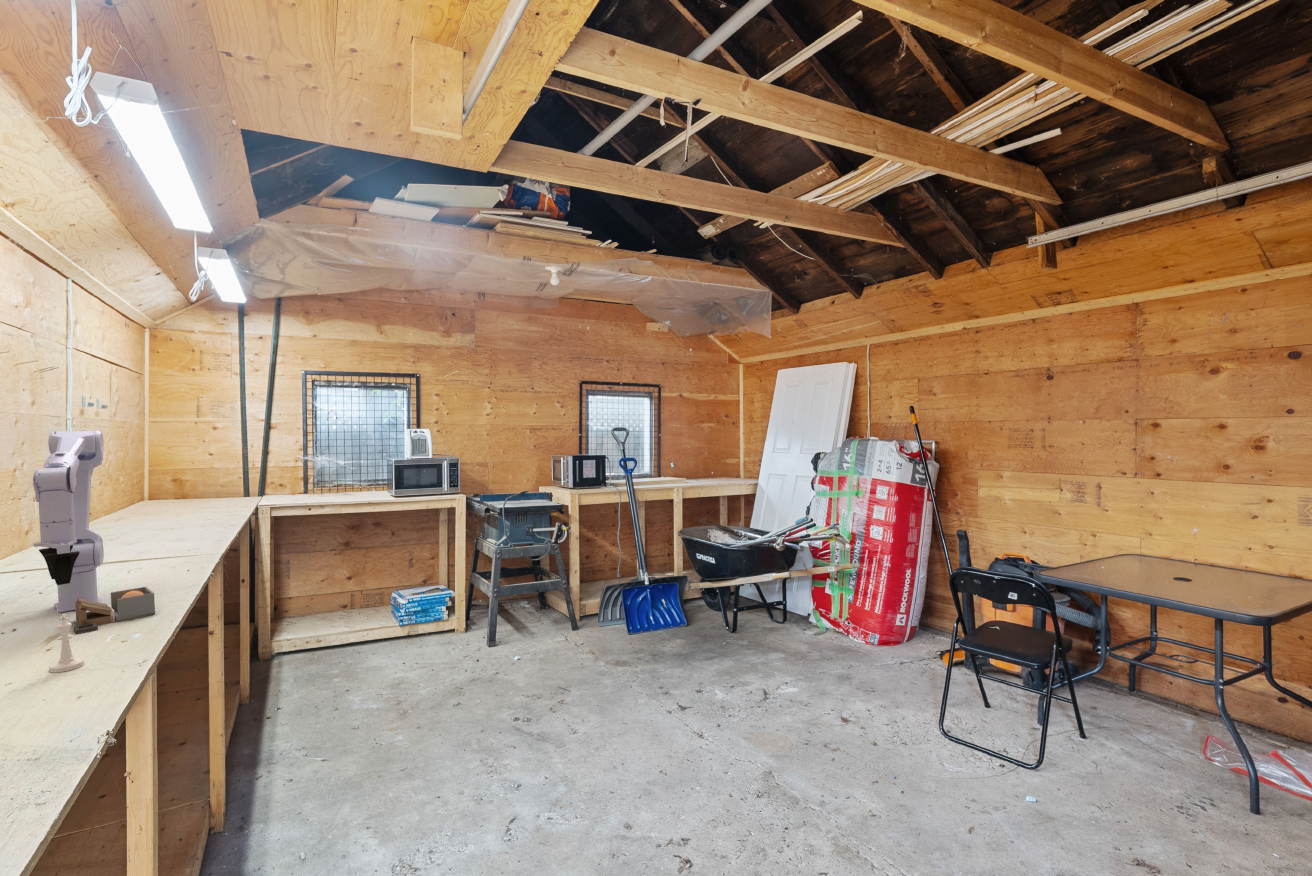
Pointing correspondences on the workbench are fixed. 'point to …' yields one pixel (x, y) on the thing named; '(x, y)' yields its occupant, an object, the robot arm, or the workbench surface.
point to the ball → (132, 594)
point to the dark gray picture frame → (85, 628)
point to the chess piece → (65, 650)
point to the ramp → (93, 612)
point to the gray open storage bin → (132, 604)
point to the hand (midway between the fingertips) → (60, 581)
